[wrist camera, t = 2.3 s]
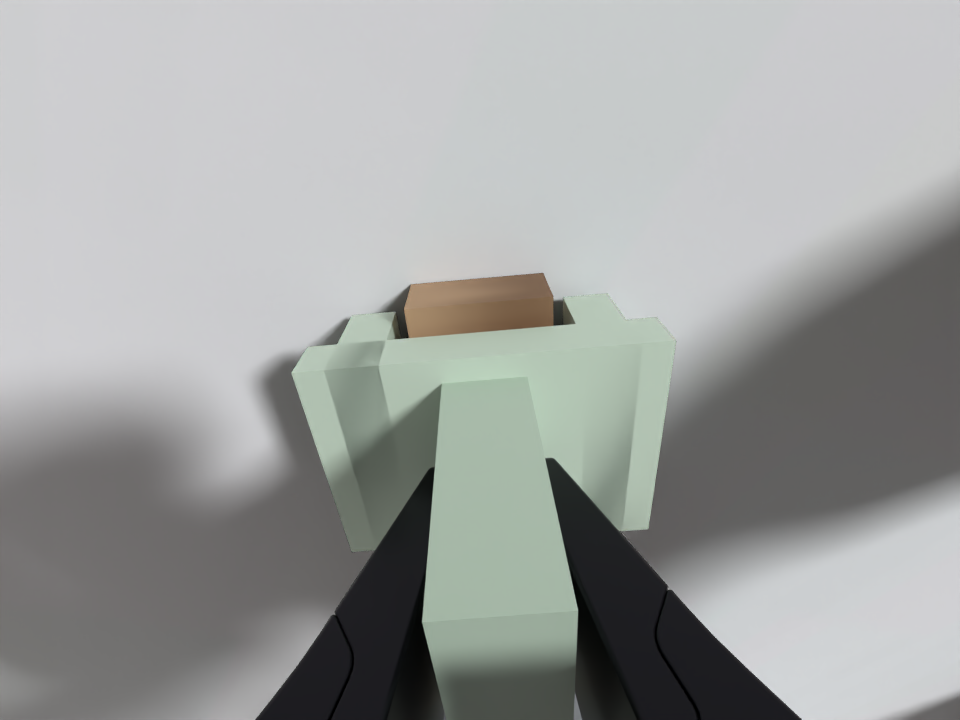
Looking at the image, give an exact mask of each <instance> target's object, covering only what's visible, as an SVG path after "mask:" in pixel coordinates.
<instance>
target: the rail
mask: <svg viewBox="0 0 960 720" xmlns="http://www.w3.org/2000/svg"><path fill="white" fill-rule="evenodd" d="M404 313H405V318H406V324H407V330H408V335H409V338H418V337H429V336H441V335H453V334H465V333H476V332H488V331H500V330H512V329H523V328H535V327H547V326H553V295H552V292H551V290H550V288H549V286H548V283H547V281H546V279H545V276H544V274H543V273H537V274H526V275H514V276H503V277H492V278H480V279H469V280H457V281H446V282H434V283H423V284H411V287H410V290H409V294H408V297H407V300H406V304H405V307H404Z"/></svg>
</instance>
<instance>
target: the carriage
mask: <svg viewBox="0 0 960 720" xmlns="http://www.w3.org/2000/svg"><path fill="white" fill-rule="evenodd" d="M675 346H676V339H675V338H674V337H673V336H672V335H671V334H670V332H669V331H668V330H667V329H666V328H665V327H664V325H663V324H662V323H661V322H660V321H659V320H658V318H657V317H652V318H641V319H629V320H626V319H625V317H624V316H623V315H622V313H621V312H620V310H619V309H618V307H617V306H616V305H615V303H614V302H613V300H612V299H611V298H610V296H609V295H608V293H606V294H594V295H582V296H571V297H563V325H558V326H547V327H535V328H523V329H512V330H500V331H488V332H476V333H465V334H453V335H441V336H429V337H418V338H406V339H401V337H400V332H399V327H398V321H397V316H396V312H385V313H374V314H362V315H352V316H351V318H350V320H349V322H348V324H347V326H346V328H345V330H344V332H343V334H342V336H341V338H340V340H339V342H338V344H336V345H324V346H312V347H307V349H306V350H305V352H304V353H303V355H302V357H301V358H300V360H299V361H298V363H297V365H296V366H295V368H294V369H293V371H292V373H291V374H292V377H293V380H294V382H295V385H296V388H297V391H298V394H299V397H300V400H301V403H302V406H303V409H304V412H305V415H306V418H307V421H308V424H309V427H310V430H311V433H312V436H313V439H314V442H315V445H316V448H317V451H318V454H319V457H320V460H321V463H322V466H323V469H324V472H325V474H326V477H327V480H328V483H329V486H330V489H331V492H332V495H333V498H334V501H335V504H336V507H337V510H338V513H339V516H340V519H341V522H342V525H343V528H344V531H345V534H346V537H347V540H348V543H349V546H350V549H351V552H360V551H373V550H375V549H376V548H377V546H378V545H379V543H380V542H381V540H382V539H383V537H384V536H385V534H386V533H387V531H388V530H389V528H390V527H391V525H392V524H393V522H394V521H395V519H396V518H397V516H398V515H399V513H400V512H401V510H402V509H403V507H404V506H405V504H406V503H407V501H408V500H409V498H410V497H411V495H412V493H413V492H414V490H415V489H416V487H417V486H418V484H419V483H420V481H421V480H422V478H423V477H424V475H425V474H426V472H427V471H428V469H430V468H431V467H435V472H434V484H433V497H432V509H431V521H430V533H429V545H428V557H427V569H426V581H425V594H424V606H423V618H422V624H423V628H424V632H425V636H426V640H427V644H428V648H429V652H430V656H431V660H432V664H433V668H434V672H435V676H436V680H437V684H438V688H439V692H440V696H441V700H442V704H443V708H444V712H445V716H446V720H574V698H575V674H576V651H577V627H578V608H577V603H576V598H575V594H574V589H573V585H572V580H571V575H570V571H569V566H568V562H567V557H566V552H565V548H564V543H563V539H562V534H561V529H560V525H559V520H558V516H557V511H556V506H555V502H554V497H553V493H552V488H551V483H550V479H549V474H548V469H547V465H546V460H545V458H554V459H555V460H556V461H557V462H558V463H559V464H560V465H561V466H562V467H563V468H564V470H565V471H566V472H567V473H568V474H569V475H570V476H571V477H572V479H573V480H574V481H575V482H576V483H577V484H578V485H579V486H580V488H581V489H582V490H583V491H584V492H585V493H586V494H587V495H588V497H589V498H590V499H591V500H592V501H593V502H594V503H595V504H596V506H597V507H598V508H599V509H600V510H601V511H602V512H603V513H604V515H605V516H606V517H607V518H608V519H609V520H610V521H611V522H612V524H613V525H614V526H615V527H616V528H617V529H618V530H619V531H632V530H645V529H648V528H649V521H650V515H651V508H652V501H653V494H654V488H655V481H656V474H657V467H658V461H659V454H660V447H661V440H662V434H663V427H664V420H665V413H666V407H667V400H668V393H669V387H670V380H671V373H672V366H673V360H674V353H675Z"/></svg>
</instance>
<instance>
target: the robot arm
mask: <svg viewBox="0 0 960 720" xmlns="http://www.w3.org/2000/svg"><path fill="white" fill-rule="evenodd" d="M545 460H546V465H547V469H548V474H549V479H550V483H551V488H552V493H553V497H554V502H555V506H556V511H557V516H558V520H559V525H560V529H561V534H562V539H563V543H564V548H565V552H566V557H567V562H568V566H569V571H570V575H571V580H572V585H573V589H574V594H575V598H576V603H577V608H578V627H577V651H576V674H575V694H576V698H577V702H578V706H579V710H580V714H581V718H582V720H802V719H801V718H800V717H799V716H798V715H796V714H795V713H794V712H793V711H792V710H791V709H790V708H789V707H788V706H787V705H786V704H785V703H784V702H783V701H782V700H780V699H779V698H778V697H777V696H776V695H775V694H774V693H773V692H772V691H771V690H770V689H769V688H768V687H767V686H765V685H764V684H763V683H762V682H761V681H760V680H759V679H758V678H757V677H756V676H755V675H754V674H753V673H752V672H750V671H749V670H748V669H747V668H746V667H745V666H744V665H743V664H742V663H741V662H740V661H739V660H738V659H737V658H736V657H735V656H734V655H733V654H732V653H731V652H730V651H729V650H728V649H727V648H726V647H725V646H724V645H723V644H721V643H720V642H719V641H718V640H717V639H716V638H715V637H714V636H713V635H712V634H711V632H710V631H709V630H708V629H707V628H706V627H705V626H704V625H703V624H702V623H701V622H700V621H699V620H698V619H697V618H696V616H695V615H694V614H693V613H692V612H691V611H690V610H689V609H688V608H687V607H686V606H685V604H684V603H683V602H682V601H681V600H680V599H679V598H678V596H677V595H676V594H675V593H674V592H673V591H672V590H668V586H667V584H666V583H665V582H664V581H663V580H662V579H661V578H660V576H659V575H658V574H657V573H656V572H655V571H654V570H653V569H652V567H651V566H650V565H649V564H648V563H647V562H646V561H645V560H644V558H643V557H642V556H641V555H640V554H639V553H638V552H637V551H636V549H635V548H634V547H633V546H632V545H631V544H630V543H629V542H628V540H627V539H626V538H625V537H624V536H623V535H622V534H621V533H620V531H619V530H618V529H617V528H616V527H615V526H614V525H613V524H612V522H611V521H610V520H609V519H608V518H607V517H606V516H605V515H604V513H603V512H602V511H601V510H600V509H599V508H598V507H597V506H596V504H595V503H594V502H593V501H592V500H591V499H590V498H589V497H588V495H587V494H586V493H585V492H584V491H583V490H582V489H581V488H580V486H579V485H578V484H577V483H576V482H575V481H574V480H573V479H572V477H571V476H570V475H569V474H568V473H567V472H566V471H565V470H564V468H563V467H562V466H561V465H560V464H559V463H558V462H557V461H556V460H555V459H554V458H545ZM434 472H435V467H431V468H430V469H428V471H427V472H426V474H425V475H424V477H423V478H422V480H421V481H420V483H419V484H418V486H417V487H416V489H415V490H414V492H413V493H412V495H411V497H410V498H409V500H408V501H407V503H406V504H405V506H404V507H403V509H402V510H401V512H400V513H399V515H398V516H397V518H396V519H395V521H394V522H393V524H392V525H391V527H390V528H389V530H388V531H387V533H386V534H385V536H384V537H383V539H382V540H381V542H380V543H379V545H378V546H377V548H376V549H375V551H374V553H373V554H372V556H371V557H370V559H369V560H368V562H367V563H366V565H365V566H364V568H363V569H362V571H361V572H360V574H359V575H358V577H357V578H356V580H355V581H354V583H353V584H352V586H351V587H350V589H349V590H348V592H347V593H346V595H345V596H344V598H343V599H342V601H341V602H340V604H339V605H338V607H337V608H336V610H335V615H332V616H331V617H330V619H329V620H328V622H327V623H326V625H325V626H324V628H323V629H322V631H321V632H320V634H319V635H318V637H317V638H316V640H315V641H314V643H313V644H312V645H311V647H310V648H309V650H308V651H307V653H306V654H305V656H304V657H303V658H302V660H301V661H300V663H299V664H298V666H297V667H296V668H295V670H294V671H293V672H292V673H291V675H290V676H289V677H288V679H287V680H286V681H285V683H284V684H283V685H282V686H281V688H280V689H279V690H278V692H277V693H276V694H275V696H274V697H273V698H272V699H271V701H270V702H269V703H268V705H267V706H266V707H265V708H264V710H263V711H262V712H261V713H260V715H259V716H258V717H257V718H256V719H255V720H444V714H445V712H444V708H443V704H442V700H441V696H440V692H439V688H438V684H437V680H436V676H435V672H434V668H433V664H432V660H431V656H430V652H429V648H428V644H427V640H426V636H425V632H424V628H423V624H422V618H423V606H424V594H425V581H426V569H427V557H428V545H429V533H430V521H431V509H432V497H433V484H434Z"/></svg>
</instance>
